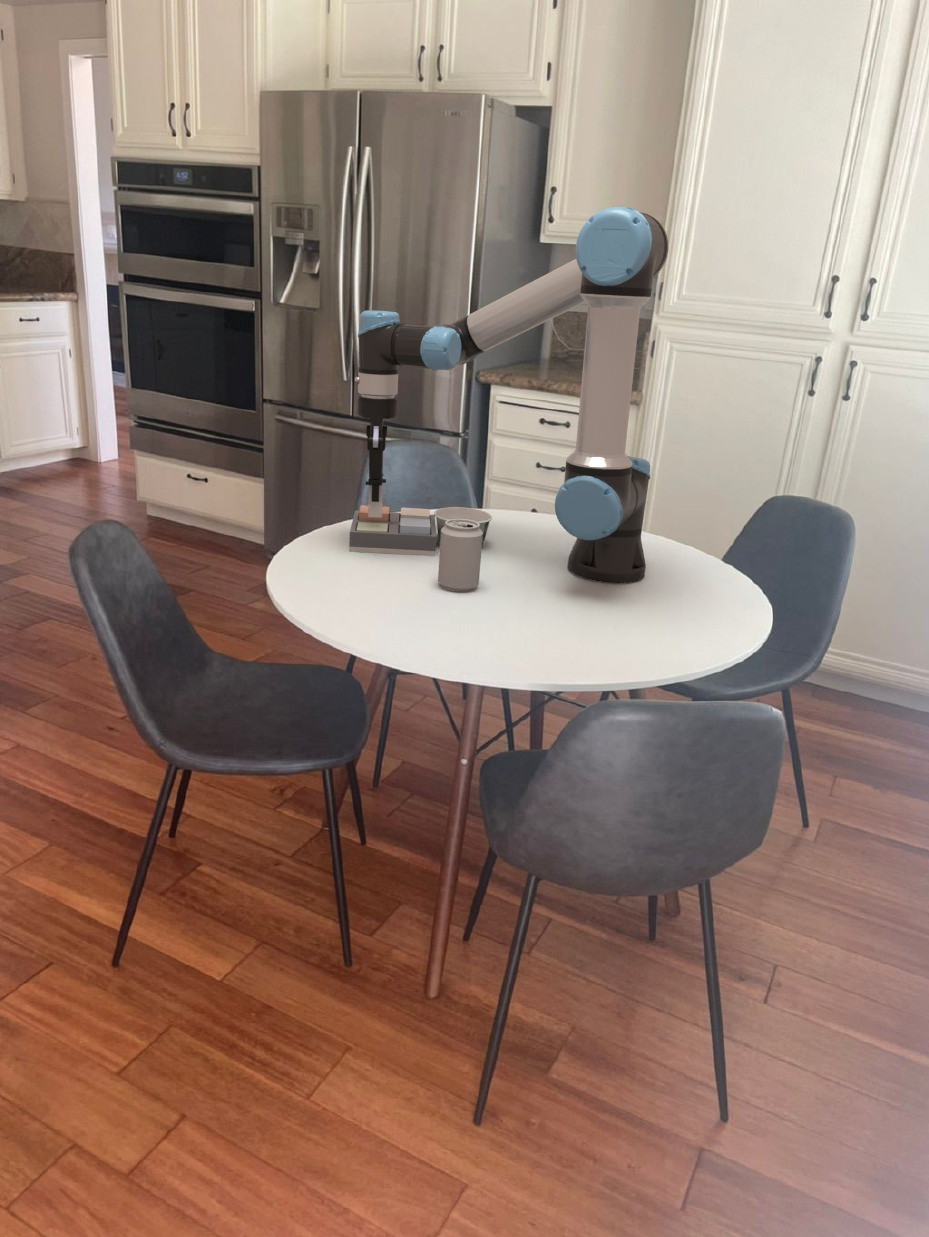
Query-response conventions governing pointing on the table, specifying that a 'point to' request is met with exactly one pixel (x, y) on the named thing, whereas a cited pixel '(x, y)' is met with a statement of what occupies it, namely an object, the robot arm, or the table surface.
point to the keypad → (392, 538)
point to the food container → (462, 513)
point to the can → (460, 555)
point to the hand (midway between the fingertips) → (375, 516)
